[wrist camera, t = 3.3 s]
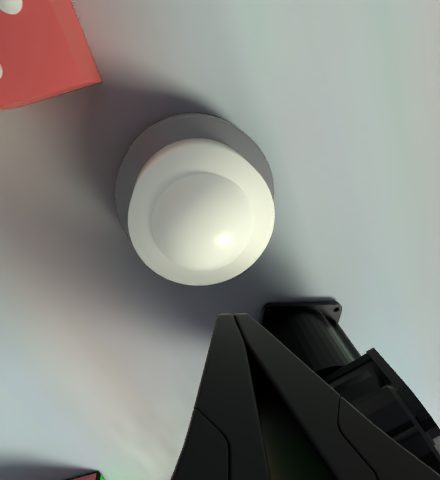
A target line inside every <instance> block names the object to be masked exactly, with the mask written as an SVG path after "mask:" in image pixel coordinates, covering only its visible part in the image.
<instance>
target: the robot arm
mask: <svg viewBox="0 0 440 480" xmlns="http://www.w3.org/2000/svg"><path fill="white" fill-rule="evenodd" d="M334 308H335V309H334ZM269 309H271V310H270V311H267V310H269ZM341 312H342V306H341V305H340V304H339V303H338V302H298V303H268V304H265V305H264V306H263V308H262V313H261V319H260V324H259V323H258V322H257V321H256V320H255V319H254V318H253V317H251V316H250V315H249V314H247V313H235V314H233V315H232V314H219V315H218V316H217V319H216V323H215V327H214V331H213V335H212V339H211V343H210V347H209V350H208V354H207V358H206V362H205V366H204V370H203V374H202V378H201V382H200V386H199V390H198V394H197V398H196V402H195V406H194V410H193V413H192V417H191V421H190V425H189V428H188V431H187V435H186V438H185V442H184V445H183V448H182V451H181V453H180V456H179V459H178V461H177V464H176V467H175V470H174V472H173V475H172V477H171V480H440V429H439V427H438V426H437V424H436V423H435V422H434V420H433V419H432V417H431V416H430V414H429V413H428V412H427V410H426V409H425V408H424V406H423V405H422V404H421V402H420V401H419V400H418V398H417V397H416V396H415V395H414V393H413V392H412V391H411V390H410V388H409V387H408V386H407V385H406V384H405V383H404V381H403V380H402V379H401V378H400V377H399V376H398V375H397V374H396V372H395V371H394V370H393V369H392V368H391V367H390V366H389V364H388V363H387V362H386V361H385V360H384V359H383V358H382V357H381V355H380V354H379V353H378V352H377V351H376V350H375V349H374V348H372V349H370V350H368V351H367V353H366V354H364V355H363V356H361V355H360V354H359V352H358V351H357V350H356V348H355V347H354V345H353V344H352V343H351V341H350V340H349V338H348V337H347V336H346V334H345V333H344V331H343V330H342V329H341V327H340V326H339V324H338V322H339V318H340V315H341Z"/></svg>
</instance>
